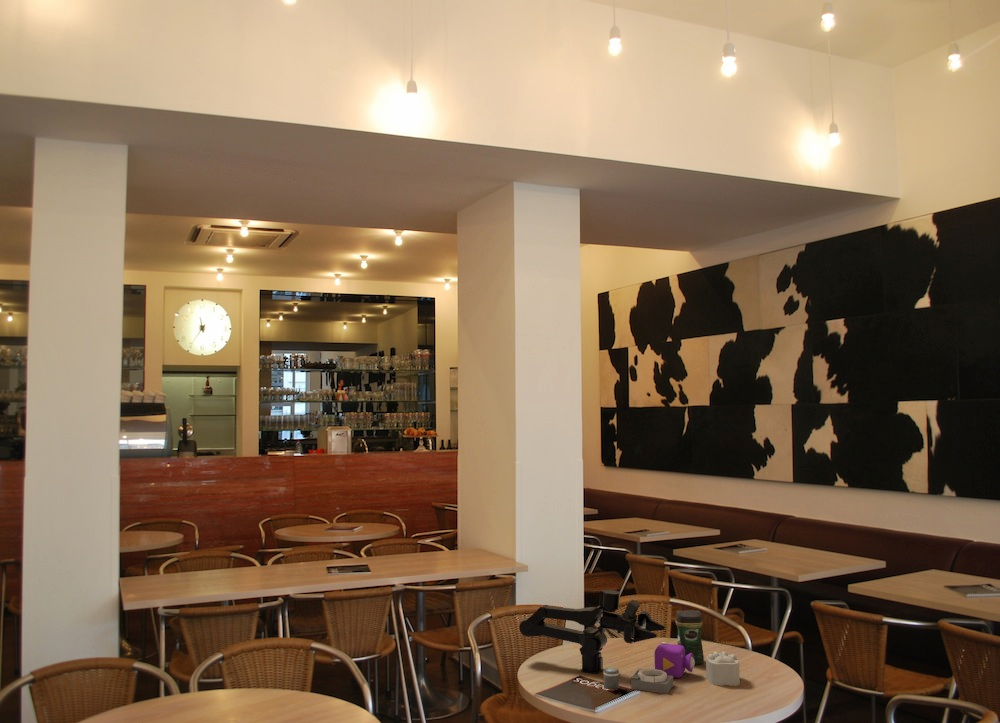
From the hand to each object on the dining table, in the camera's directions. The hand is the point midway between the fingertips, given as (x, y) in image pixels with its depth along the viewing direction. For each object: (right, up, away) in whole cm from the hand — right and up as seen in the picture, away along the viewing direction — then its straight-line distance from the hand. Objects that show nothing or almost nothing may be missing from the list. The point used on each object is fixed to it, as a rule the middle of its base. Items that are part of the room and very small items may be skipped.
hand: (660, 631), depth 284 cm
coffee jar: (+14, -18, +19) cm, 30 cm away
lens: (-18, -16, -9) cm, 26 cm away
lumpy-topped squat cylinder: (+21, -16, 0) cm, 27 cm away
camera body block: (-4, -16, -7) cm, 18 cm away
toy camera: (+6, -17, +6) cm, 19 cm away
